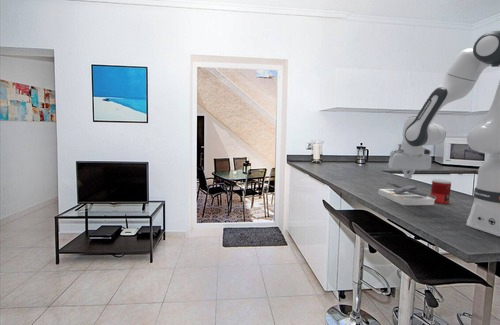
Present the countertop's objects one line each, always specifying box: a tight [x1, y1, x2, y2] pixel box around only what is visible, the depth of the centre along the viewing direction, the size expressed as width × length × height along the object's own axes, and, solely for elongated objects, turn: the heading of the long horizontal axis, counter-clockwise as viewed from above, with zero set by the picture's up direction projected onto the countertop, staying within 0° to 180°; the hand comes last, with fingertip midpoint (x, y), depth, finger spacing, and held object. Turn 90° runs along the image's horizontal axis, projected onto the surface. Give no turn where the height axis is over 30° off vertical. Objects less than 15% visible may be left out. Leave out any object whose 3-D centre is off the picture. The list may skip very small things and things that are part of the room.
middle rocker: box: [393, 184, 417, 194], centre depth 149 cm, size 4×10×1 cm, turn 96°
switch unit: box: [377, 188, 435, 206], centre depth 150 cm, size 22×16×3 cm
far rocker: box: [386, 181, 402, 189], centre depth 156 cm, size 4×10×1 cm, turn 96°
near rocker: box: [403, 188, 428, 197], centre depth 142 cm, size 4×10×1 cm, turn 96°
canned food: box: [430, 179, 452, 205], centre depth 145 cm, size 8×8×11 cm
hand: (407, 178), depth 141 cm, fingers closed
